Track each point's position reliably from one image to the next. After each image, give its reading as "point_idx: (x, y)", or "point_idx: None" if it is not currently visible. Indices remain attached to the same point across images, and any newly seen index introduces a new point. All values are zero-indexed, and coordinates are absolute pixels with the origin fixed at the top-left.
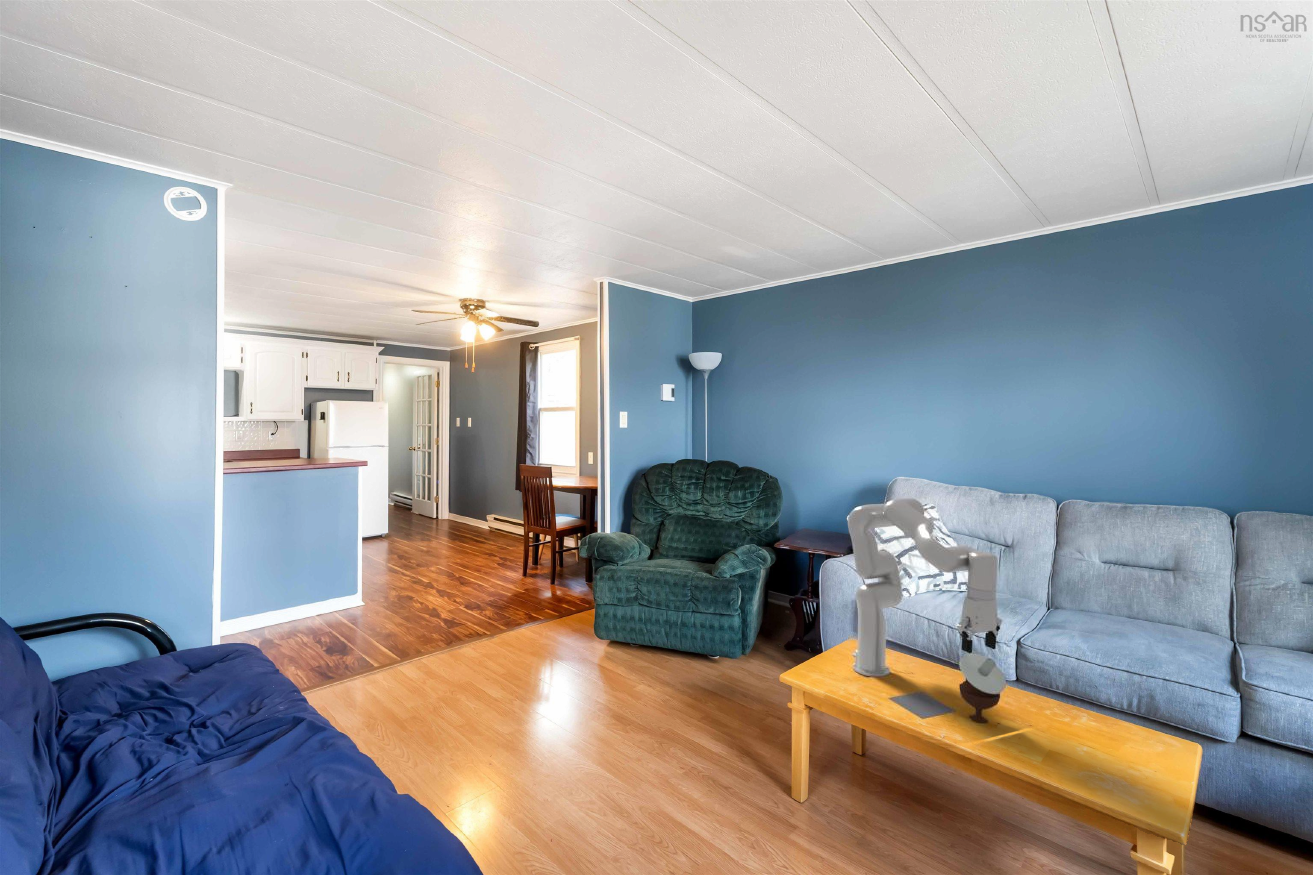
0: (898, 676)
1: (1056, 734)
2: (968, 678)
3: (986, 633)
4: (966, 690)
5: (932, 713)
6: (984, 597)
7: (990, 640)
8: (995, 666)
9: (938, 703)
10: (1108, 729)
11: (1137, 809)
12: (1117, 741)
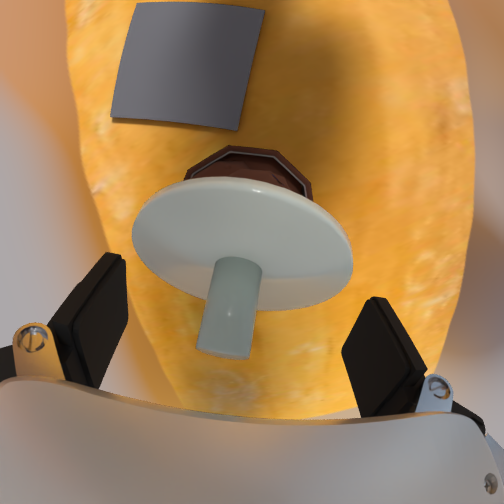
0: None
1: (334, 308)
2: (137, 251)
3: (409, 373)
4: None
5: (158, 107)
6: None
7: (366, 371)
8: (336, 283)
9: (234, 76)
10: (417, 333)
11: None
12: None
